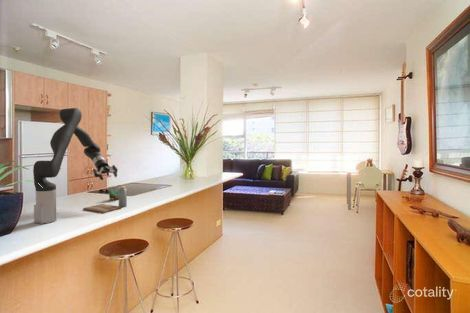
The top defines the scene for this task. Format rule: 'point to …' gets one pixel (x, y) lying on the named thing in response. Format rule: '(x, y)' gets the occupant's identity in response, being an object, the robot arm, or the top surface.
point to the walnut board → (102, 208)
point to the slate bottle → (122, 196)
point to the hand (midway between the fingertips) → (109, 177)
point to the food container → (114, 193)
